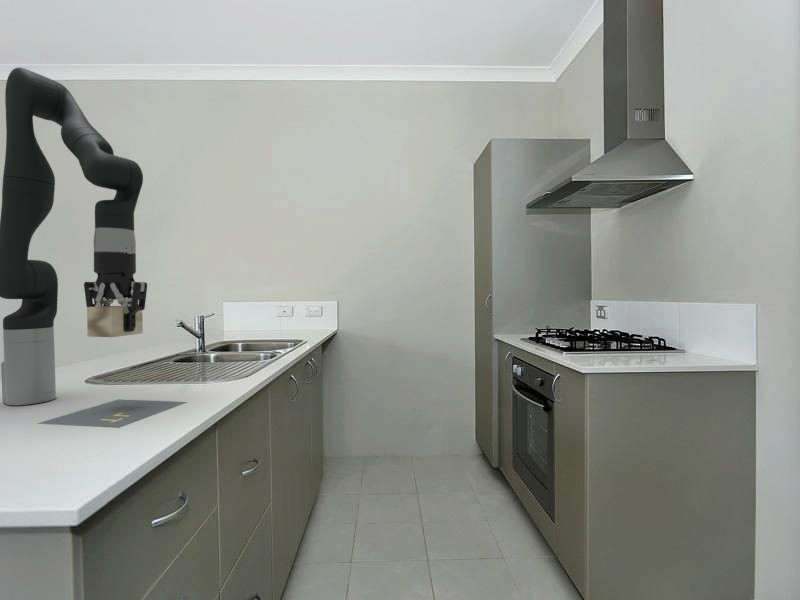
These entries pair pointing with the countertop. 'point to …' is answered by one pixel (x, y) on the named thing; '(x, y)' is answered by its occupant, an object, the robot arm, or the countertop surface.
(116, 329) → the beech block
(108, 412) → the grey mat
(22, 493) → the countertop surface
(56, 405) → the countertop surface
